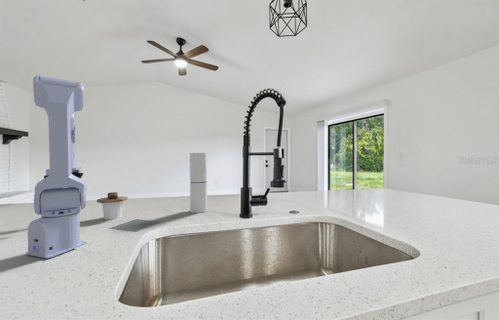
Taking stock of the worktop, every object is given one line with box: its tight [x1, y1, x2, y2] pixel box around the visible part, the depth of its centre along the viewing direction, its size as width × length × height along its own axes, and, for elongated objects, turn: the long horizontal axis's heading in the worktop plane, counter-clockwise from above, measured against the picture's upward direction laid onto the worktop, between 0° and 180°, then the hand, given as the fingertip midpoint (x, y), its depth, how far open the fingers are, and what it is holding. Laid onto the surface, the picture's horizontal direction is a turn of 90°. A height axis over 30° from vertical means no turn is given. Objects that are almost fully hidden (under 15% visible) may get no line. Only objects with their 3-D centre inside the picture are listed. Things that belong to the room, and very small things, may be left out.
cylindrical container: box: [189, 152, 208, 214], centre depth 94 cm, size 7×7×25 cm
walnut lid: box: [96, 191, 128, 204], centre depth 84 cm, size 10×10×3 cm
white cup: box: [101, 201, 124, 221], centre depth 84 cm, size 7×7×7 cm
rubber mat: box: [109, 218, 161, 233], centre depth 74 cm, size 11×11×1 cm
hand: (65, 194), depth 77 cm, fingers open, 7 cm apart
